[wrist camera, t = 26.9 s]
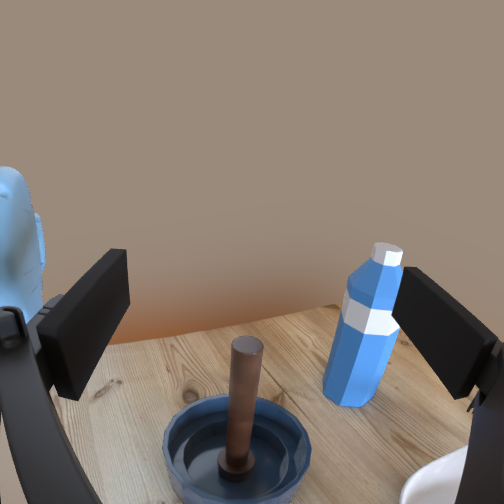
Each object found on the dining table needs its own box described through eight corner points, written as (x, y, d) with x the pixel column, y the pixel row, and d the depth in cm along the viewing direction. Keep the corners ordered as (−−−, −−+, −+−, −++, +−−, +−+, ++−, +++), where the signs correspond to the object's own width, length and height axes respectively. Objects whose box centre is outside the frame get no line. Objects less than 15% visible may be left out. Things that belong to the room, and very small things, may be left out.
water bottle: (383, 400, 45) (434, 259, 37) (335, 413, 43) (381, 260, 34) (357, 367, 54) (393, 237, 45) (312, 376, 51) (342, 235, 43)
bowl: (148, 498, 26) (137, 474, 24) (195, 412, 41) (194, 381, 39) (288, 536, 23) (300, 517, 21) (306, 437, 38) (316, 407, 36)
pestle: (212, 477, 30) (213, 353, 24) (223, 451, 34) (229, 325, 28) (248, 486, 29) (269, 365, 23) (256, 459, 34) (278, 335, 27)
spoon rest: (430, 564, 16) (465, 543, 14) (370, 512, 25) (393, 486, 23) (509, 458, 28) (533, 428, 25) (462, 425, 37) (482, 394, 35)
